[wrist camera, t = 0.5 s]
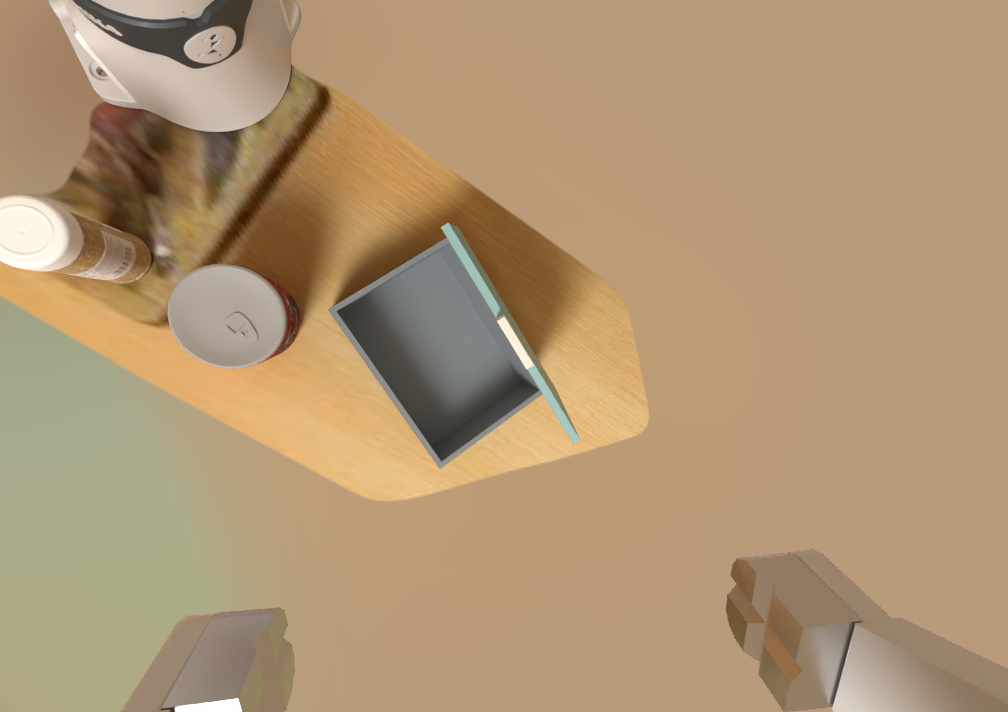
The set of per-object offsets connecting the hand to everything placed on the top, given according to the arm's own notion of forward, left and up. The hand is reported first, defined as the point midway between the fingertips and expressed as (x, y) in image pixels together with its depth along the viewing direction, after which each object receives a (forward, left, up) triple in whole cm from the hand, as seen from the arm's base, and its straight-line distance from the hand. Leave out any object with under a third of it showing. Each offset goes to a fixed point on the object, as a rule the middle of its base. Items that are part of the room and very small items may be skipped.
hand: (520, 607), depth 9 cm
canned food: (-11, -7, -43) cm, 45 cm away
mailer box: (+1, +6, -43) cm, 43 cm away
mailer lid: (+1, +11, -30) cm, 32 cm away
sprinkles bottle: (-21, -13, -43) cm, 49 cm away
